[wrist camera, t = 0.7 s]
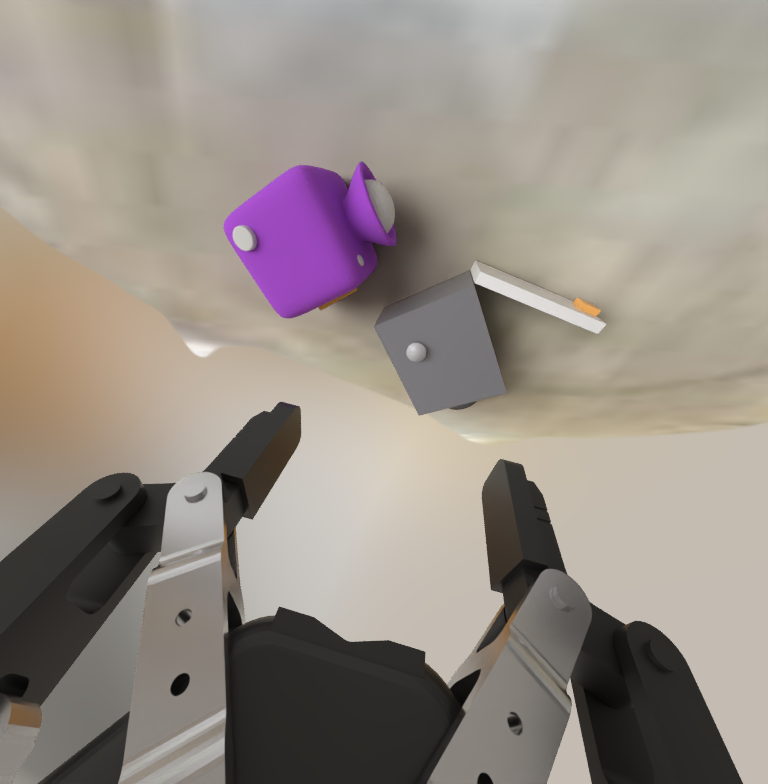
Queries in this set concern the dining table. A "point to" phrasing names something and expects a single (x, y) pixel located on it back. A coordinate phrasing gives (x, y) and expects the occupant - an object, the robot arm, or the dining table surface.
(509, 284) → the side door
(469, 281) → the camera case
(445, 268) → the dining table surface
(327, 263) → the toy camera
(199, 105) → the dining table surface
